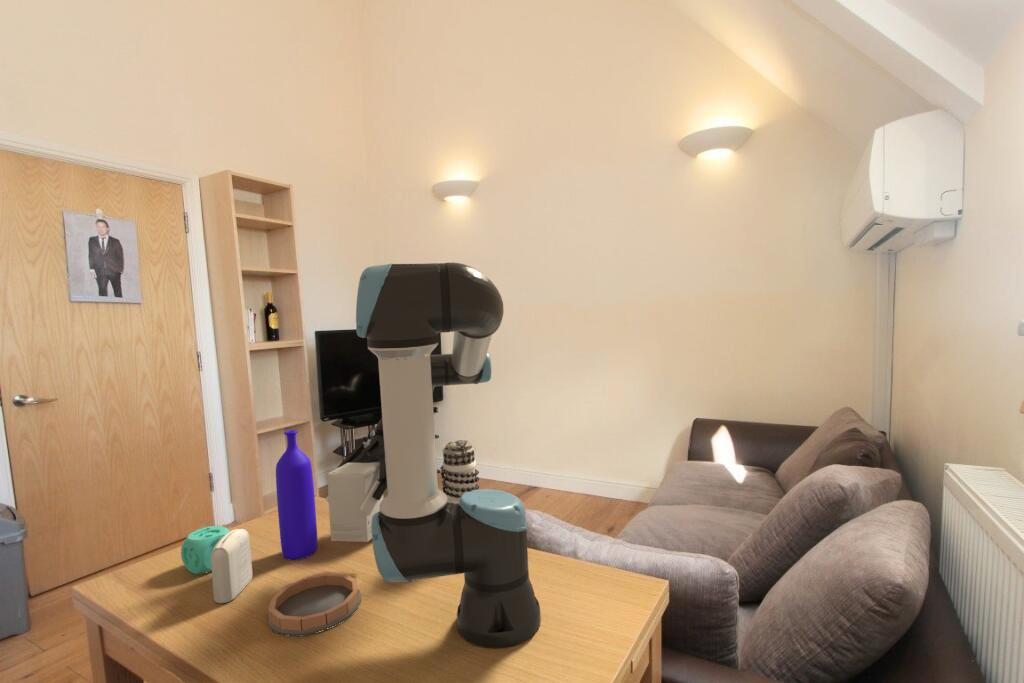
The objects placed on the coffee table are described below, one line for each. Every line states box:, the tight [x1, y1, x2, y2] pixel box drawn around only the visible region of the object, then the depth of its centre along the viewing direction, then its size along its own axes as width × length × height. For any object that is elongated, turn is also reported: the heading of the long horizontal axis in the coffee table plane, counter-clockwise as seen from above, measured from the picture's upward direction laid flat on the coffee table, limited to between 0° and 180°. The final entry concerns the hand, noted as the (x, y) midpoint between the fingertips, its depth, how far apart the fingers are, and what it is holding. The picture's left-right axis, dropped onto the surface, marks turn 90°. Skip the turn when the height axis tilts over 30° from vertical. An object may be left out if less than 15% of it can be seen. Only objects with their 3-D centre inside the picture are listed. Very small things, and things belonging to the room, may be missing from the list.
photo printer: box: [211, 528, 254, 604], centre depth 107 cm, size 10×4×12 cm, turn 3°
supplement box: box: [326, 462, 383, 543], centre depth 114 cm, size 9×9×15 cm
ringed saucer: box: [267, 572, 362, 637], centre depth 99 cm, size 17×17×3 cm
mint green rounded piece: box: [180, 525, 230, 575], centre depth 119 cm, size 8×8×8 cm
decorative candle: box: [440, 440, 480, 505], centre depth 124 cm, size 9×9×25 cm
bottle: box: [275, 429, 318, 561], centre depth 123 cm, size 8×8×30 cm
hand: (346, 507), depth 111 cm, fingers closed on supplement box, 11 cm apart
